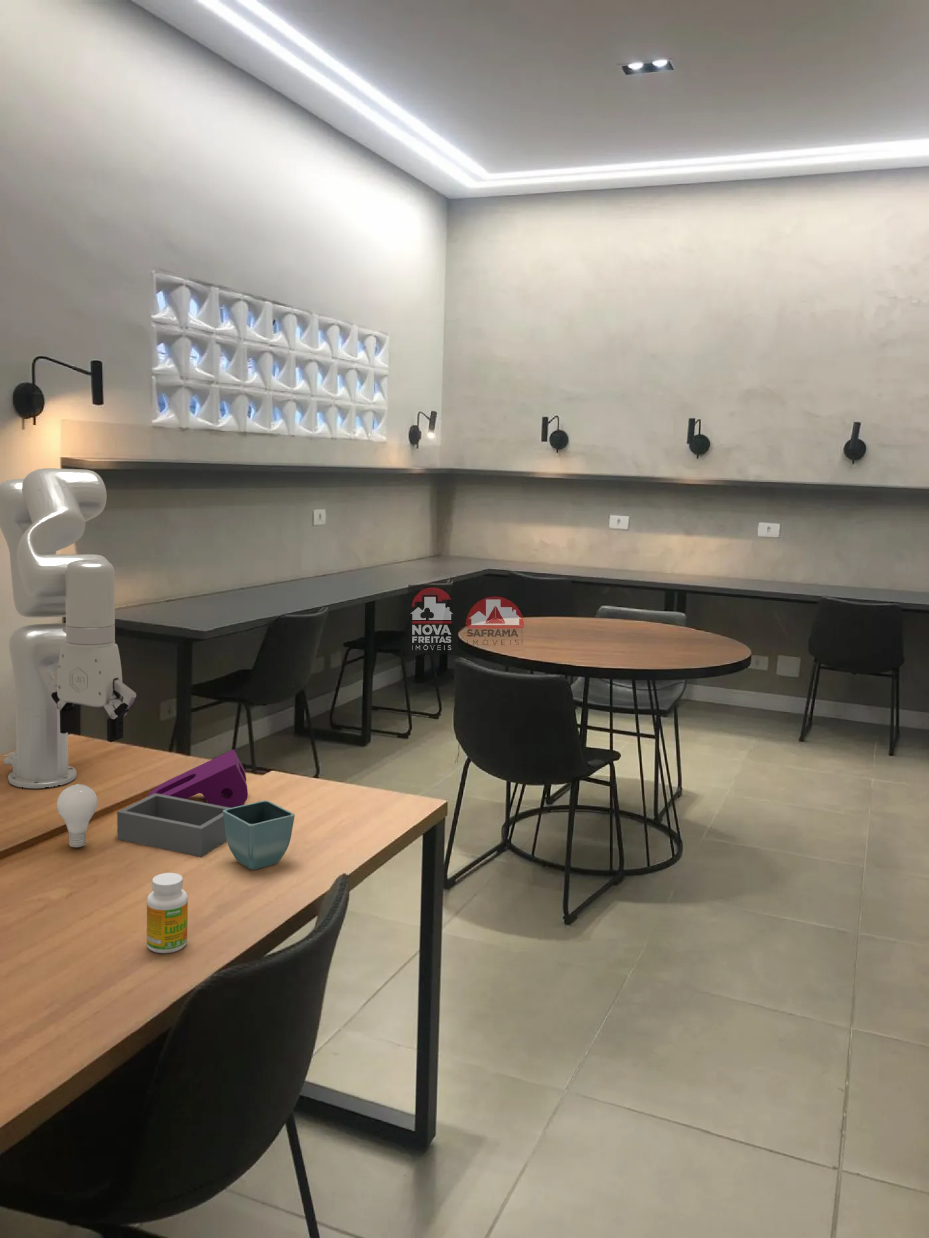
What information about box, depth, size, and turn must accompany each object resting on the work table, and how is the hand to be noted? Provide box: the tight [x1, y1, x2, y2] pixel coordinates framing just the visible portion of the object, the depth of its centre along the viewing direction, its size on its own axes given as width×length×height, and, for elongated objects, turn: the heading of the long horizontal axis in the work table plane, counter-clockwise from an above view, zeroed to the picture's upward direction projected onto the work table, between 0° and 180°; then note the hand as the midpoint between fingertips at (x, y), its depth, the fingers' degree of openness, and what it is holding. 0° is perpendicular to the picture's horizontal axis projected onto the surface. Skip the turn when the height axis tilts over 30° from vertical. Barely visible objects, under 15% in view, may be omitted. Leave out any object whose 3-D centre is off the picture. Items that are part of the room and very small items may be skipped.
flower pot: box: [223, 799, 296, 871], centre depth 162 cm, size 9×9×9 cm
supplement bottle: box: [146, 872, 189, 954], centre depth 134 cm, size 5×5×10 cm
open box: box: [116, 793, 229, 858], centre depth 171 cm, size 17×10×5 cm, turn 71°
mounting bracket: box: [146, 748, 249, 808], centre depth 187 cm, size 10×8×18 cm
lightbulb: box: [56, 783, 98, 849], centre depth 164 cm, size 6×6×11 cm
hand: (91, 735), depth 163 cm, fingers open, 9 cm apart
